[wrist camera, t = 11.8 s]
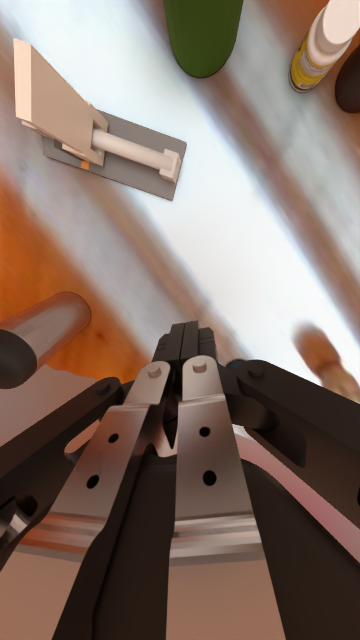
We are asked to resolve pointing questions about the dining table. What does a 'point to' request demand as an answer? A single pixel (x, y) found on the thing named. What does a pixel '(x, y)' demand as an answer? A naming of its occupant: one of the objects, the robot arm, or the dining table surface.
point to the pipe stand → (129, 155)
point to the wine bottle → (202, 33)
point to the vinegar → (349, 83)
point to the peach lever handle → (55, 105)
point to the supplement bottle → (324, 43)
